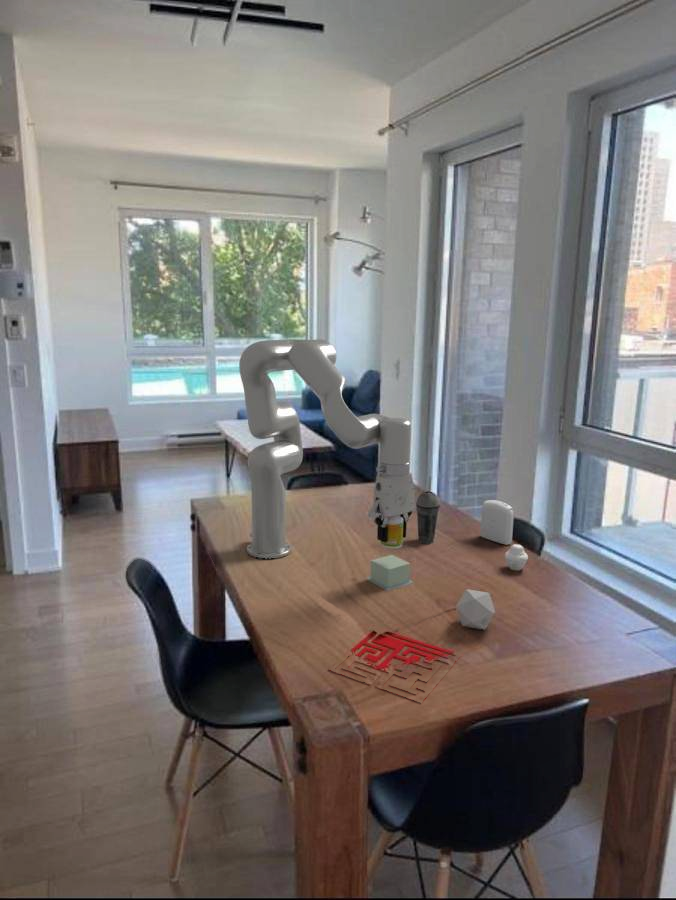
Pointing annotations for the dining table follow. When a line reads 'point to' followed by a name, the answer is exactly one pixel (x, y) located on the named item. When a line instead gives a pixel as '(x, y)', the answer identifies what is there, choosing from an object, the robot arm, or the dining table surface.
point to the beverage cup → (427, 515)
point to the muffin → (516, 557)
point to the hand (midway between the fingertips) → (391, 537)
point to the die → (475, 609)
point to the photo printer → (497, 521)
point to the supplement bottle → (394, 532)
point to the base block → (390, 571)
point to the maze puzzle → (395, 649)
